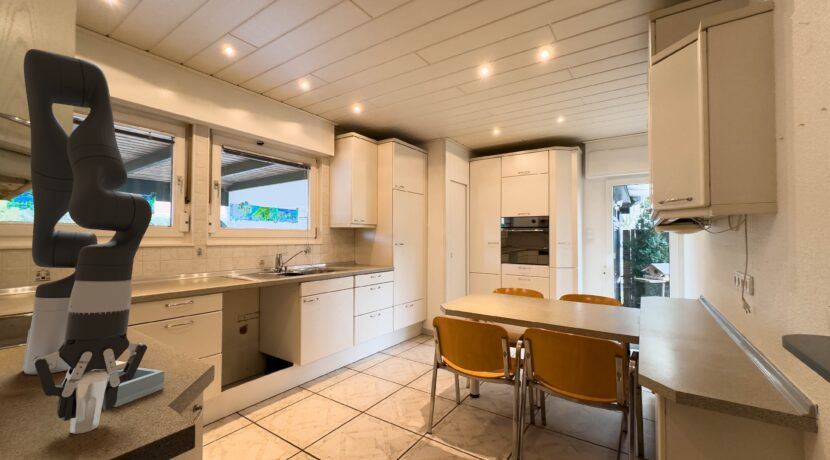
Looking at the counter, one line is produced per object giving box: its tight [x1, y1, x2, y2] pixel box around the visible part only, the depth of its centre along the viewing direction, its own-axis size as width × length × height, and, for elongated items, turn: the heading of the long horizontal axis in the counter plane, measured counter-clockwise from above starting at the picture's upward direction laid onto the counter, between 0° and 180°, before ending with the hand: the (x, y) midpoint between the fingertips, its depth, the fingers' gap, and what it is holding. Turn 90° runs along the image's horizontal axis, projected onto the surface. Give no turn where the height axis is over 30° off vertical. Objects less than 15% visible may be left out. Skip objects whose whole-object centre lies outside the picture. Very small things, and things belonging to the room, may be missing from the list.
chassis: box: [102, 360, 165, 408], centre depth 67 cm, size 13×11×5 cm
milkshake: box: [69, 370, 110, 435], centre depth 54 cm, size 5×5×10 cm
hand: (87, 413), depth 54 cm, fingers closed on milkshake, 4 cm apart
